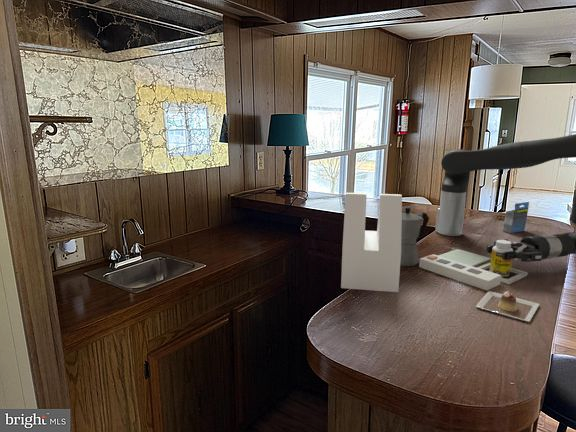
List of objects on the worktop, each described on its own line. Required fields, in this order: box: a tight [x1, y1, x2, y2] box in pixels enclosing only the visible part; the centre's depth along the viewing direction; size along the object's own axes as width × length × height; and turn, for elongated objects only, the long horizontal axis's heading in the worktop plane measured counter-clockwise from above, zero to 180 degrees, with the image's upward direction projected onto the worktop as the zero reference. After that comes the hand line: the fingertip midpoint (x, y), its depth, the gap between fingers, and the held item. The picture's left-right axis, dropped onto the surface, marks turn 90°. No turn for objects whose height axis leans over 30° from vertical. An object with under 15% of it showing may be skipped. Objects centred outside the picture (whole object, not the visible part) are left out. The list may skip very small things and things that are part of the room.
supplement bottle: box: [488, 239, 513, 278], centre depth 123 cm, size 6×6×10 cm
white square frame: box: [477, 262, 528, 285], centre depth 125 cm, size 11×11×1 cm
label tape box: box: [502, 201, 530, 234], centre depth 168 cm, size 9×4×12 cm, turn 118°
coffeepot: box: [400, 207, 430, 267], centre depth 134 cm, size 15×9×18 cm, turn 115°
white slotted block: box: [340, 192, 403, 293], centre depth 120 cm, size 19×15×25 cm
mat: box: [438, 248, 491, 267], centre depth 138 cm, size 12×12×1 cm
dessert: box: [475, 290, 540, 323], centre depth 103 cm, size 12×12×5 cm
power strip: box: [418, 253, 501, 291], centre depth 124 cm, size 22×10×3 cm, turn 37°
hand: (495, 252), depth 122 cm, fingers closed on supplement bottle, 5 cm apart
